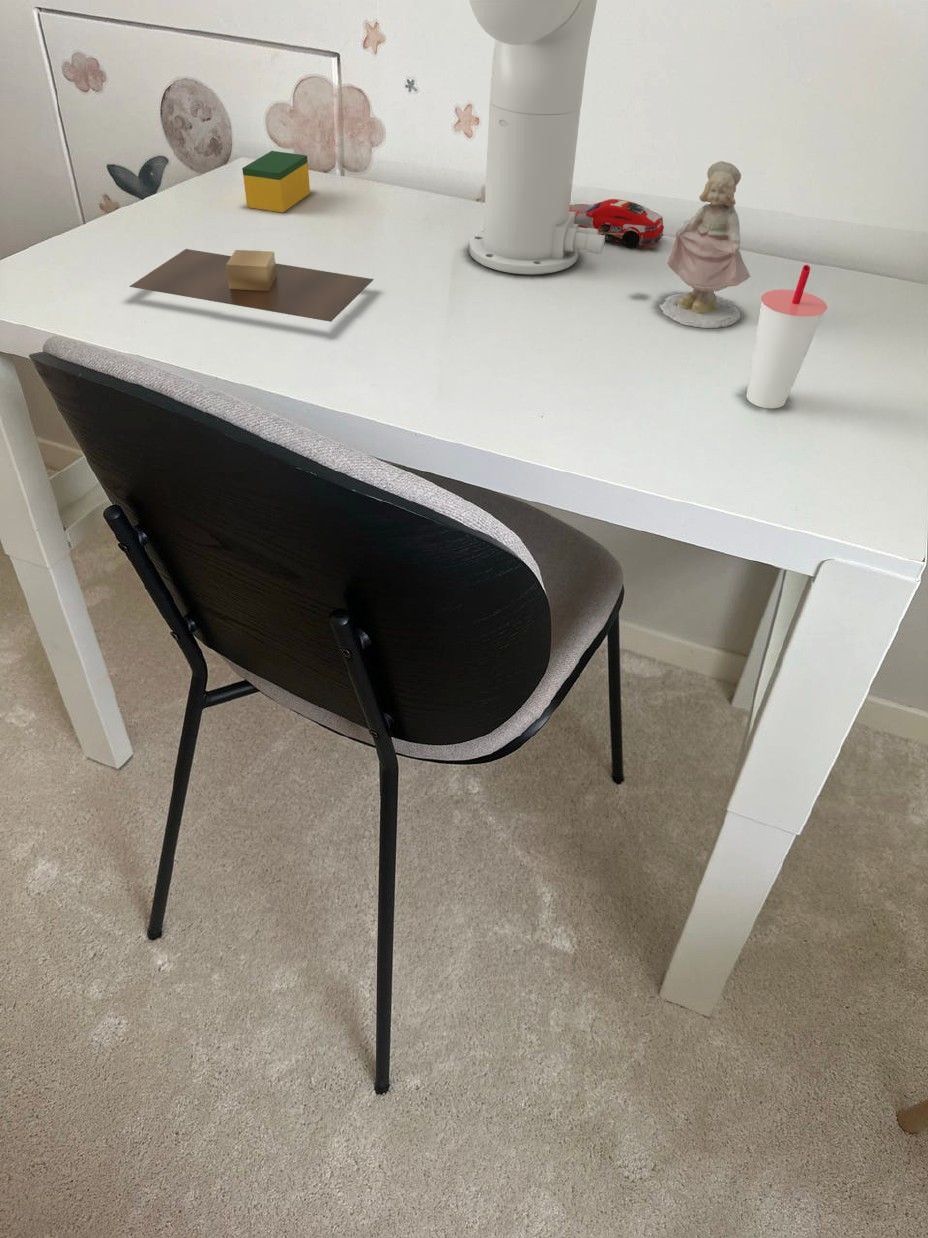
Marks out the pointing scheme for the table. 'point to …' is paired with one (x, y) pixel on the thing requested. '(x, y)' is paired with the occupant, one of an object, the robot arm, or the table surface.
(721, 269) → the figurine
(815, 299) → the cup
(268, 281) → the wooden block
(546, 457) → the table surface
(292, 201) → the sponge
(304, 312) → the board
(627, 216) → the race car
